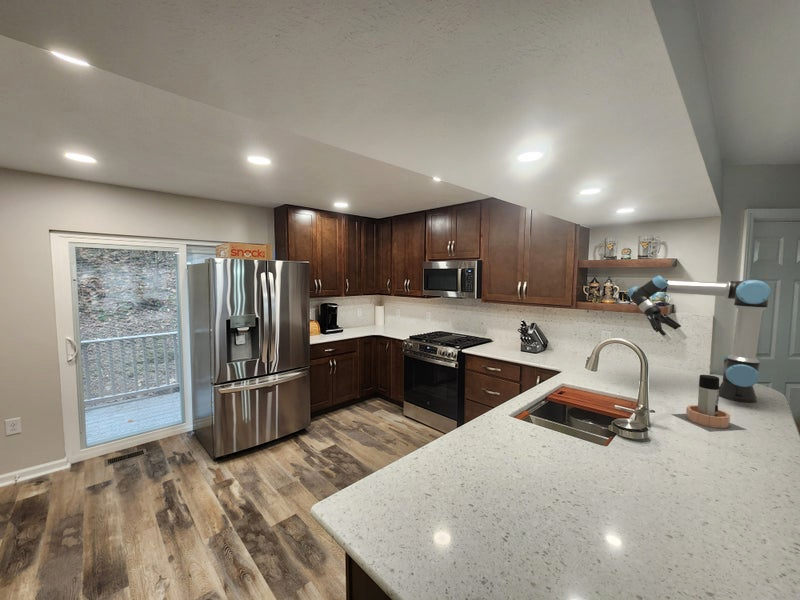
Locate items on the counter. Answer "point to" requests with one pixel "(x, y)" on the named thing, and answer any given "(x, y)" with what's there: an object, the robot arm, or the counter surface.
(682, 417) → the mat
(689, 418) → the bowl
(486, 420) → the counter surface
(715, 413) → the spray can
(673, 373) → the counter surface
